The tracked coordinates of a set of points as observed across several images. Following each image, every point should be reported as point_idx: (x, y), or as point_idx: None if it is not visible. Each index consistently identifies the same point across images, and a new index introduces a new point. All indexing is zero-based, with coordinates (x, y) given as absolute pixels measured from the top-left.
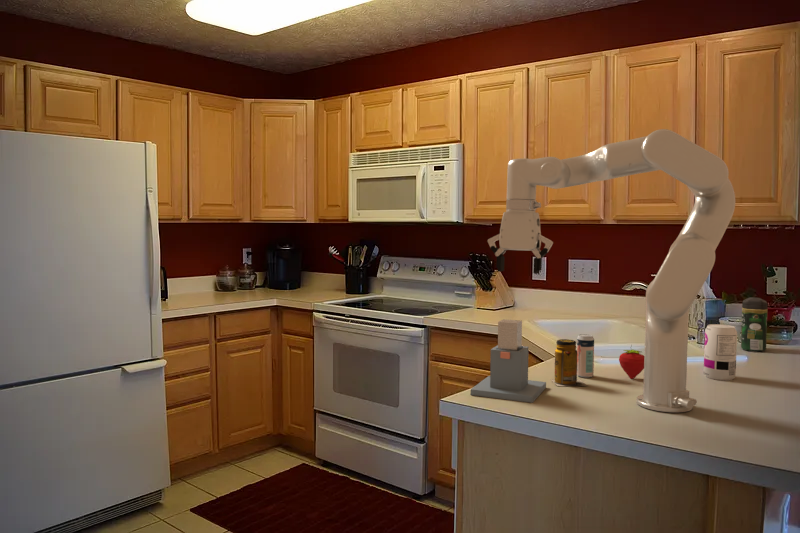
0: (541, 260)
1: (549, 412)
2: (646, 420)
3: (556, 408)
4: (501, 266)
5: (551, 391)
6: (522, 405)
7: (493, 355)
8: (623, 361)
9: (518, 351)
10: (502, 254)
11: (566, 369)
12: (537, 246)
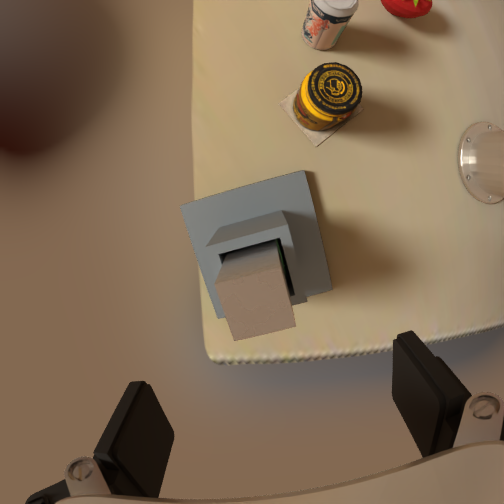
0: (468, 397)
1: (372, 312)
2: (481, 253)
3: (374, 287)
4: (163, 444)
5: (324, 191)
6: (323, 309)
7: None
8: (398, 11)
9: (298, 298)
10: (122, 491)
11: (335, 124)
12: (495, 459)
